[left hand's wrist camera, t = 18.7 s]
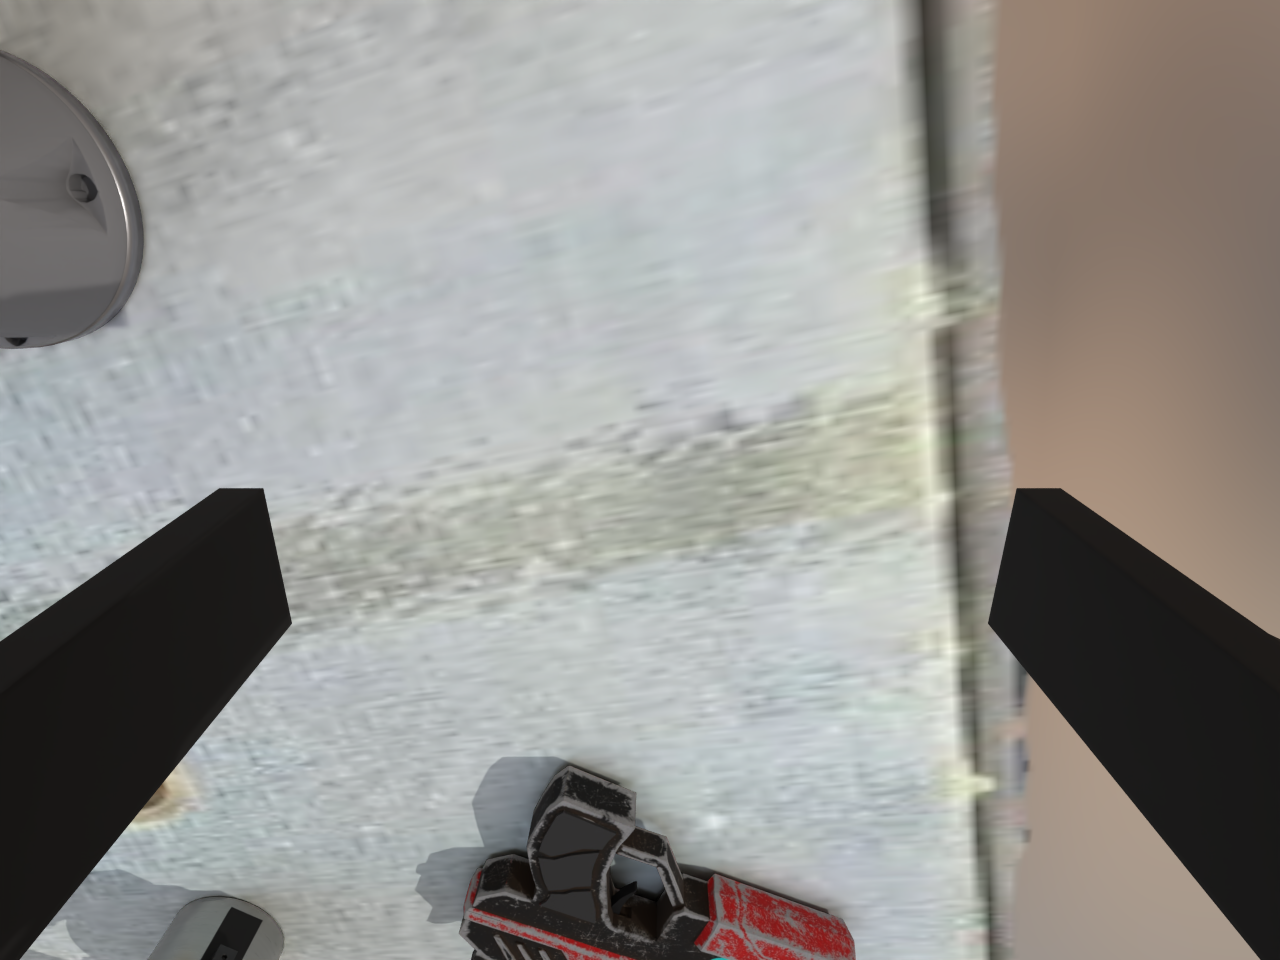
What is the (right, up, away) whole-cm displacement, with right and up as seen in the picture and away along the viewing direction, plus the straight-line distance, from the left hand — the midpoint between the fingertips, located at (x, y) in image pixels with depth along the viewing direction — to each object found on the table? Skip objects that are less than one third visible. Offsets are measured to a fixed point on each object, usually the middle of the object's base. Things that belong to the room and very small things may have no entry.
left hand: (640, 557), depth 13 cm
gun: (+2, -33, +46) cm, 56 cm away
